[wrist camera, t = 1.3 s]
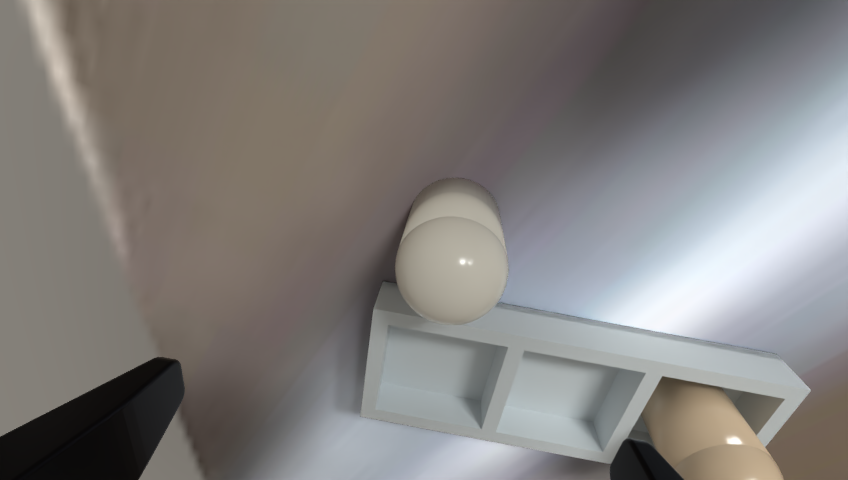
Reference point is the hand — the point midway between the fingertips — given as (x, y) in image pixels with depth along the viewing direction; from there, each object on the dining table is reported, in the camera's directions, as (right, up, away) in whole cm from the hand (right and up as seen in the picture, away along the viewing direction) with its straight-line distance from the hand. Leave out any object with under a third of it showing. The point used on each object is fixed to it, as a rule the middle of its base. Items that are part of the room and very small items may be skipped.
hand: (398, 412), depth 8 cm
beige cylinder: (+15, -5, +15) cm, 22 cm away
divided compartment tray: (+8, -4, +16) cm, 18 cm away
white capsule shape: (+2, +4, +12) cm, 13 cm away
